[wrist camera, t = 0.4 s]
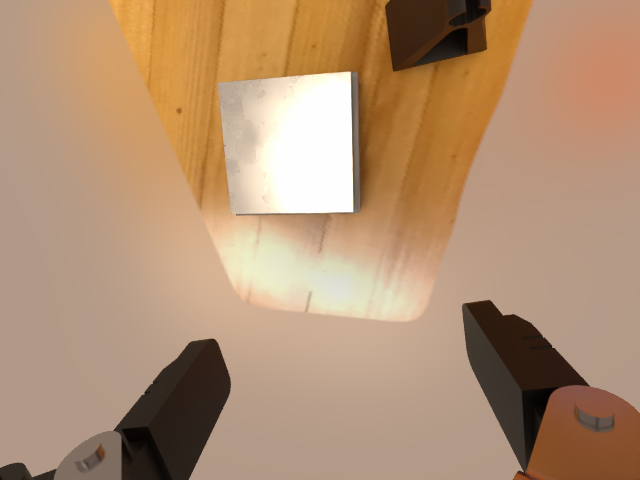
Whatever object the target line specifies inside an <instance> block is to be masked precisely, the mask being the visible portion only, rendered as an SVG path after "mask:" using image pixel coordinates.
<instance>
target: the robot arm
mask: <svg viewBox="0 0 640 480" xmlns="http://www.w3.org/2000/svg"><path fill="white" fill-rule="evenodd" d="M462 312H463V322H464V331H465V340H466V348H467V354H468V358H469V361H470V364H471V367H472V369H473V372H474V373H475V376H476V378H477V380H478V382H479V384H480V386H481V388H482V390H483V392H484V394H485V396H486V397H487V399H488V402H489V404H490V406H491V407H492V410H493V412H494V414H495V416H496V418H497V419H498V421H499V423H500V425H501V427H502V429H503V431H504V433H505V435H506V437H507V439H508V441H509V443H510V445H511V447H512V449H513V451H514V453H515V455H516V457H517V459H518V461H519V463H520V465H521V467H522V469H523V471H524V473H523V472H521V471H518V472H517V473H516V475H515V476H514V479H513V480H640V413H639V412H638V411H637V410H636V409H635V408H634V407H633V406H631V405H630V404H629V403H628V402H626V401H625V400H623V399H622V398H620V397H618V396H616V395H614V394H612V393H610V392H607V391H605V390H601V389H598V388H594V387H590V386H589V385H588V383H587V382H586V381H585V380H584V379H583V378H582V377H581V376H580V375H579V374H578V373H577V372H576V371H575V370H574V369H573V367H572V366H571V365H570V364H569V363H568V362H567V361H566V360H565V359H564V358H563V357H562V356H561V355H560V354H559V352H557V350H556V349H555V348H552V345H551V344H550V343H549V342H548V341H547V340H546V339H545V338H543V336H542V334H541V333H540V332H539V331H538V330H537V329H536V328H535V327H534V326H533V325H532V324H531V323H530V322H528V321H526V320H524V319H522V318H520V317H518V316H516V315H514V314H513V315H504V316H503V315H502V314H501V312H500V311H499V310H498V309H497V308H496V307H495V305H494V304H493V303H492V302H491V301H490V300H486V301H479V302H472V303H465V304H463V306H462ZM230 388H231V382H230V376H229V373H228V370H227V367H226V364H225V362H224V359H223V356H222V353H221V350H220V347H219V345H218V343H217V341H216V340H215V339H205V340H198V341H192V342H190V343H189V344H188V345H187V346H186V348H185V349H184V350H183V352H182V353H181V354H180V355H179V357H178V358H177V359H176V360H175V361H173V362H172V363H171V364H169V365H168V366H167V367H166V368H164V369H163V370H162V371H161V372H160V374H159V375H158V376H157V378H156V379H155V380H154V381H153V384H151V385H150V386H149V387H148V389H147V390H146V391H145V394H144V395H142V396H141V397H140V398H139V400H138V401H137V402H136V403H135V405H134V406H133V407H132V408H131V409H130V411H129V412H128V413H127V414H126V416H125V417H124V418H123V419H122V421H121V422H120V423H119V424H118V425H117V427H116V428H115V429H114V430H113V431H107V432H103V433H100V434H97V435H95V436H93V437H91V438H89V439H88V440H86V441H84V442H83V443H81V444H80V445H79V446H77V447H76V448H75V449H74V450H72V451H71V452H70V453H69V454H68V455H67V456H66V457H65V458H64V460H63V461H62V462H61V464H60V465H59V466H58V468H57V469H55V470H52V471H49V472H46V473H43V474H41V475H38V476H35V477H32V476H31V475H30V473H29V471H28V470H27V468H26V466H25V465H24V464H23V463H13V464H9V465H6V466H4V467H2V468H0V480H189V478H190V476H191V474H192V472H193V469H194V468H195V465H196V463H197V461H198V459H199V457H200V455H201V453H202V451H203V448H204V446H205V445H206V442H207V440H208V438H209V436H210V434H211V432H212V430H213V428H214V426H215V424H216V422H217V420H218V417H219V415H220V413H221V411H222V409H223V407H224V405H225V403H226V401H227V399H228V397H229V394H230Z"/></svg>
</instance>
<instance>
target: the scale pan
mask: <svg viewBox="0 0 640 480" xmlns="http://www.w3.org/2000/svg"><path fill="white" fill-rule="evenodd" d="M218 91H219V101H220V110H221V120H222V130H223V140H224V149H225V159H226V169H227V179H228V188H229V198H230V208H231V214H260V213H315V212H353V210H354V206H353V149H352V92H351V72H338V73H327V74H315V75H303V76H291V77H279V78H267V79H255V80H244V81H232V82H220V83H218Z"/></svg>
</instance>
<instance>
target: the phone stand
mask: <svg viewBox="0 0 640 480" xmlns="http://www.w3.org/2000/svg"><path fill="white" fill-rule="evenodd" d="M385 8H386V16H387V24H388V32H389V40H390V48H391V56H392V64H393V71H398V70H403V69H407V68H411V67H416V66H420V65H424V64H429V63H433V62H436V61H441V60H446V59H450V58H454V57H459V56H463V55H467V54H471V53H476V52H480V51H484V50H486V49H487V43H486V28H485V16H486V15H487V14H488V13H489V12H490V11H491V0H390V1H389V2H388V3H387V5H386V6H385Z"/></svg>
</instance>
